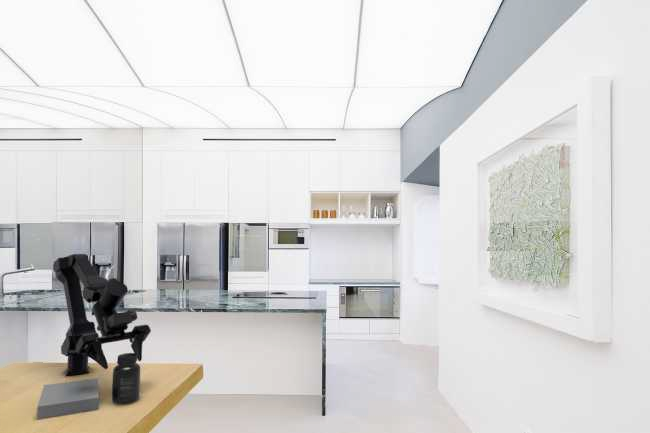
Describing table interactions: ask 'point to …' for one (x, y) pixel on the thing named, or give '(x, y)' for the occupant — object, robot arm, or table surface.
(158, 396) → the table surface
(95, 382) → the riser block
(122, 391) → the supplement bottle
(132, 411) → the table surface
